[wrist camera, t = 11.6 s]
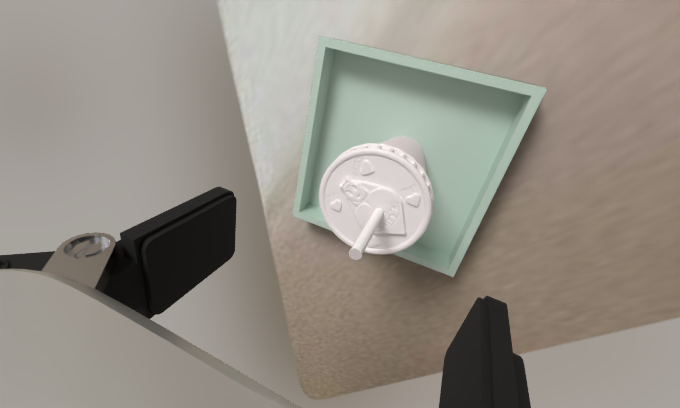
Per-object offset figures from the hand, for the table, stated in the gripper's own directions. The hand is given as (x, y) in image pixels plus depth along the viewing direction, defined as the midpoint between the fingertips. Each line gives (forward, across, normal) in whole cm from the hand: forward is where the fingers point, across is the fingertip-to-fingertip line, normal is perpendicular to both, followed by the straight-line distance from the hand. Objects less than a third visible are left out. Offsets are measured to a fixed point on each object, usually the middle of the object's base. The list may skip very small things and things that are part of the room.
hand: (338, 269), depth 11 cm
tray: (+16, +1, +1) cm, 16 cm away
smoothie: (+16, +1, 0) cm, 16 cm away
